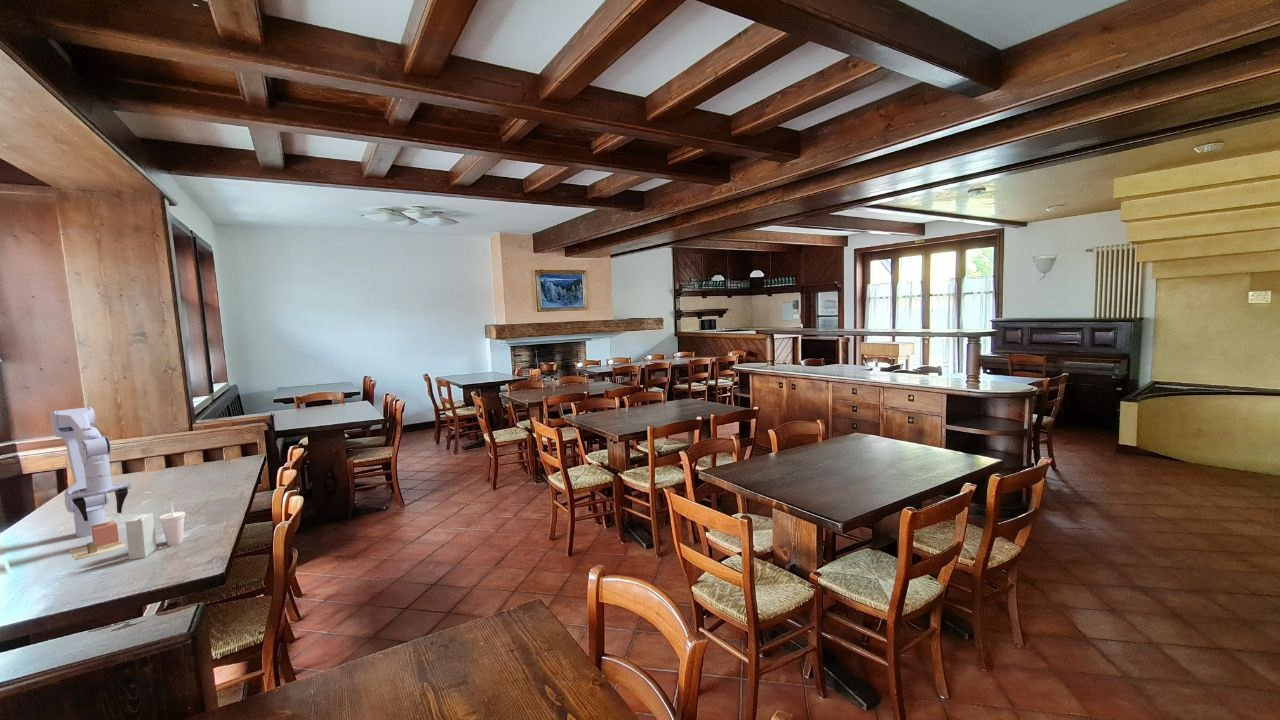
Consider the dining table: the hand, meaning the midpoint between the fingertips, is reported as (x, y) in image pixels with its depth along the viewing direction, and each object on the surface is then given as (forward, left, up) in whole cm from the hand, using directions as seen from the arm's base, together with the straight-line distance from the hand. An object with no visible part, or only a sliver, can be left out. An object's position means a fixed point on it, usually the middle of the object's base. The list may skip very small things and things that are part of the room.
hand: (102, 516), depth 169 cm
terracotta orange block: (0, 0, -9) cm, 9 cm away
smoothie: (+19, +13, -10) cm, 25 cm away
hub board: (+3, -2, -10) cm, 11 cm away
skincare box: (+21, +5, -10) cm, 23 cm away
